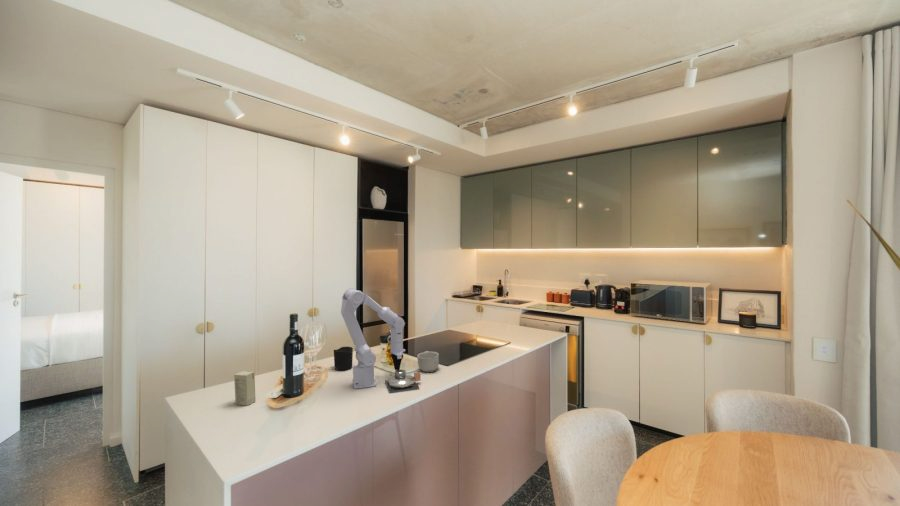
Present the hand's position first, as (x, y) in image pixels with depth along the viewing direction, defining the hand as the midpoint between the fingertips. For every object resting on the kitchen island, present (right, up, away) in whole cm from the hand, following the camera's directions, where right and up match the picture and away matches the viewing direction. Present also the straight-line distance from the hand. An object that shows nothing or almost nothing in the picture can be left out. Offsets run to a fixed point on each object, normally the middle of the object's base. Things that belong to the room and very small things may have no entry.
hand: (397, 369), depth 170 cm
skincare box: (-57, -5, -27) cm, 64 cm away
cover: (+2, -1, -8) cm, 8 cm away
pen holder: (-30, -4, +13) cm, 33 cm away
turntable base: (+4, -4, -11) cm, 12 cm away
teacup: (+14, -4, +11) cm, 18 cm away
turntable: (+5, -2, -10) cm, 12 cm away
